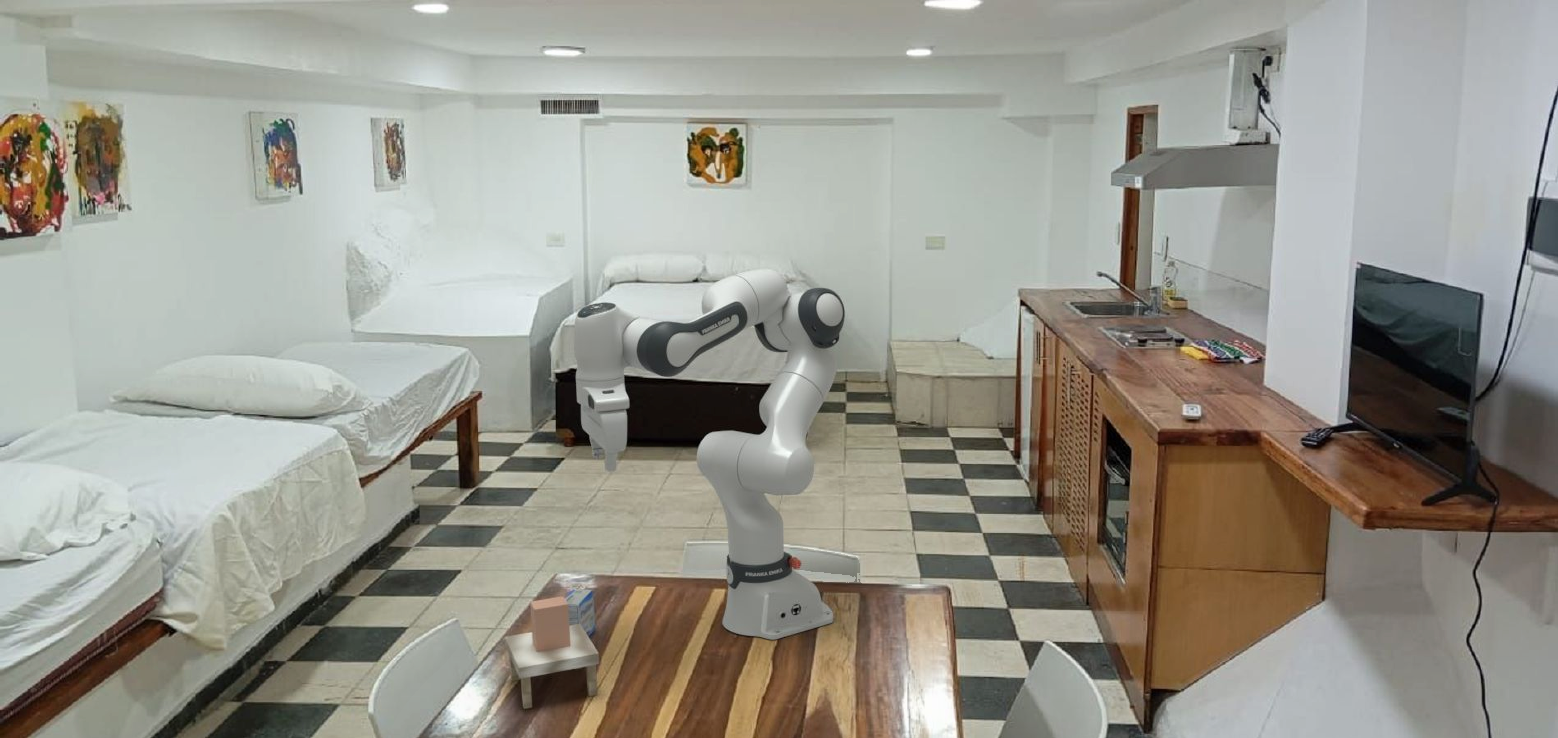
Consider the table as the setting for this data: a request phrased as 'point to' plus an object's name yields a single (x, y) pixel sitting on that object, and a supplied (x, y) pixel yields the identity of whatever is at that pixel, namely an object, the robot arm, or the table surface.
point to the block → (550, 624)
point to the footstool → (551, 660)
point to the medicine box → (581, 609)
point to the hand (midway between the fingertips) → (604, 463)
